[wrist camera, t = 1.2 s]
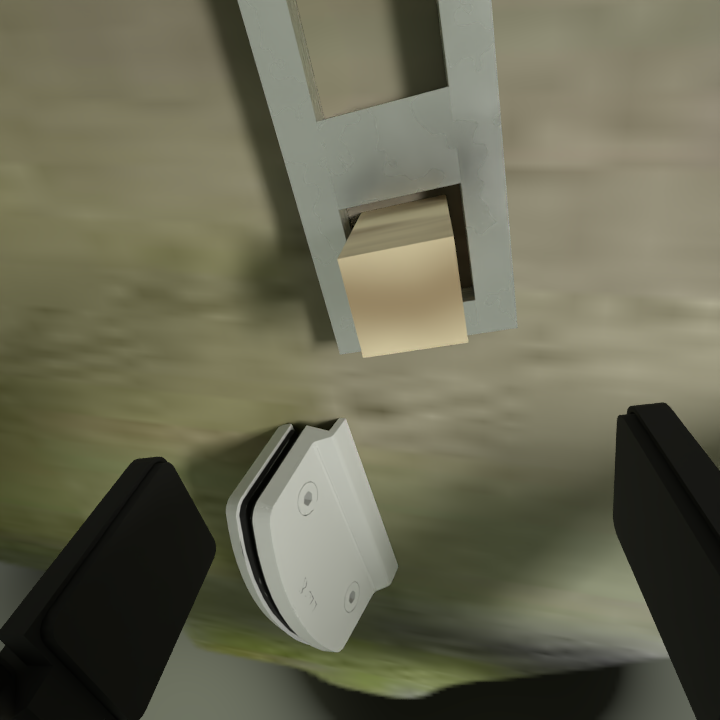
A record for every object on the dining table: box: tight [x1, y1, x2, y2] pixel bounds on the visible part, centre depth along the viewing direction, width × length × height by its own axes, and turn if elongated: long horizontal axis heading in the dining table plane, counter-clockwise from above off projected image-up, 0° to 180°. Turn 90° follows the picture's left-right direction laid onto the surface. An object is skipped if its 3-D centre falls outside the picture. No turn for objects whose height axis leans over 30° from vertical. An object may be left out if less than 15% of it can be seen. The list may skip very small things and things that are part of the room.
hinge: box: [226, 418, 399, 652], centre depth 33 cm, size 17×5×10 cm, turn 16°
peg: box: [337, 194, 468, 358], centre depth 22 cm, size 4×4×8 cm
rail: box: [238, 0, 518, 354], centre depth 20 cm, size 30×10×2 cm, turn 13°
